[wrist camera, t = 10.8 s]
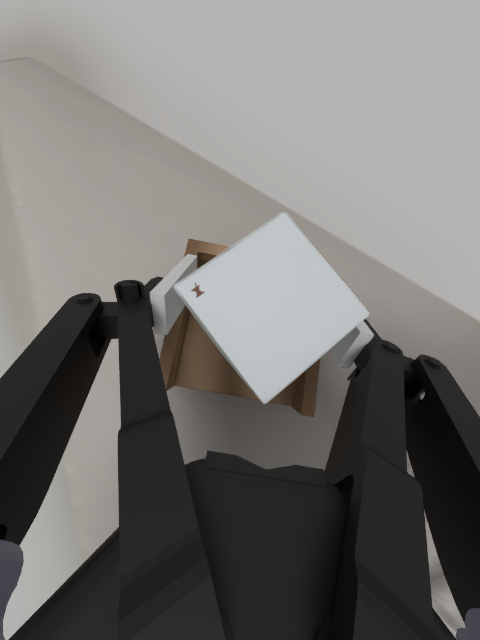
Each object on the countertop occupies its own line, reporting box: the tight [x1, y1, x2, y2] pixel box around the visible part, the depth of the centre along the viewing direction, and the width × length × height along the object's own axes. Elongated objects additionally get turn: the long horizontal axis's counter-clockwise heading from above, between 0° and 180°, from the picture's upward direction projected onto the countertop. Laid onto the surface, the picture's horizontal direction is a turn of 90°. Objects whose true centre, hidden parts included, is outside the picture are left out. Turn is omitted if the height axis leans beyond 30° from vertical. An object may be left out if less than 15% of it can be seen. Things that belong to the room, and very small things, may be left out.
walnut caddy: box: [159, 239, 320, 417], centre depth 21 cm, size 15×15×4 cm
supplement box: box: [173, 212, 370, 404], centre depth 16 cm, size 7×7×13 cm
